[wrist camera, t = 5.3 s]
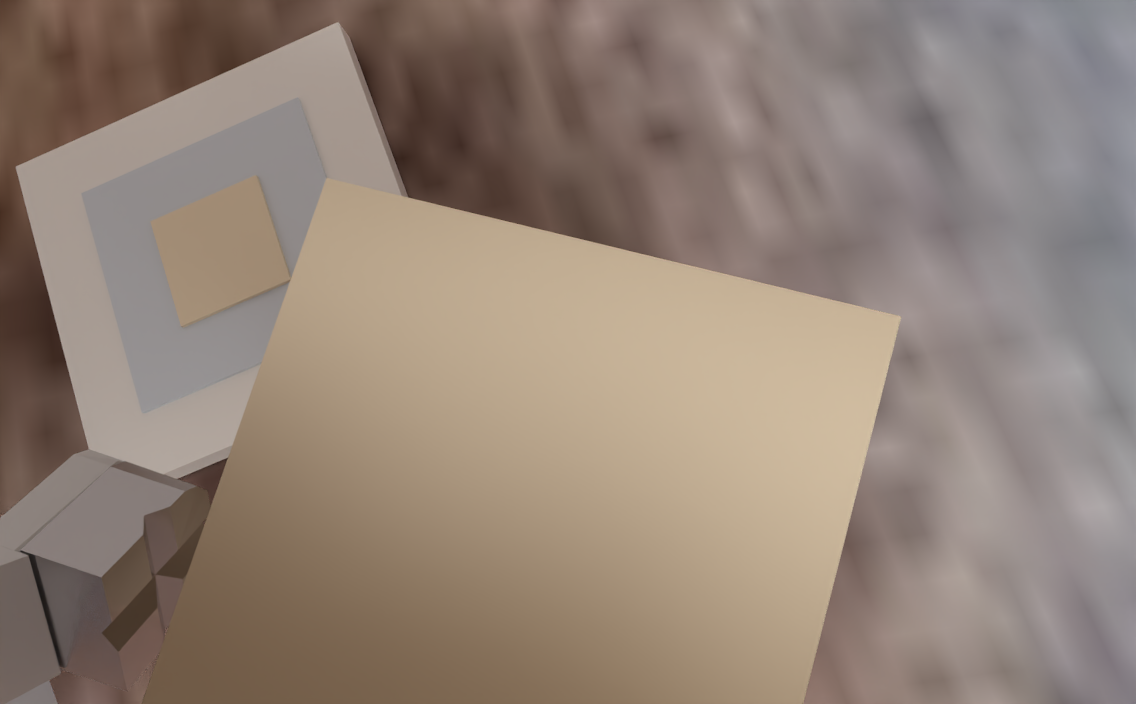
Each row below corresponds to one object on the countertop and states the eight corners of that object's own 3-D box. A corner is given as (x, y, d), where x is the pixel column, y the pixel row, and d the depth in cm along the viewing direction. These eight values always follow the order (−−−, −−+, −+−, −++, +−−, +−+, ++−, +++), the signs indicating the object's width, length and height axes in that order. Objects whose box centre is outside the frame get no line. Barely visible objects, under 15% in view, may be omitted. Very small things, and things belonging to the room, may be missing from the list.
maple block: (540, 385, 19) (326, 177, 9) (821, 461, 18) (900, 316, 8) (455, 664, 18) (126, 749, 9) (742, 761, 17) (731, 982, 8)
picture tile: (349, 37, 21) (334, 16, 20) (466, 357, 19) (454, 347, 19) (35, 177, 22) (9, 162, 21) (121, 502, 20) (95, 498, 19)
